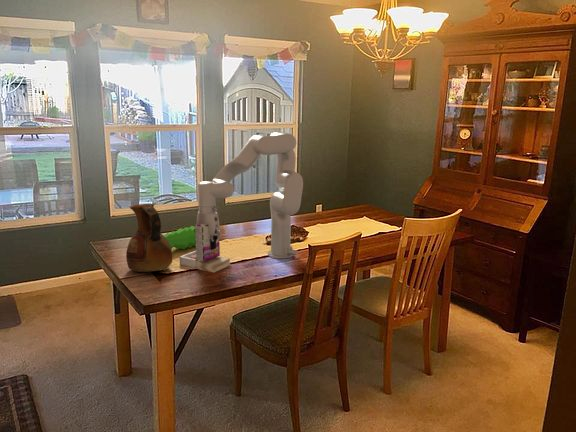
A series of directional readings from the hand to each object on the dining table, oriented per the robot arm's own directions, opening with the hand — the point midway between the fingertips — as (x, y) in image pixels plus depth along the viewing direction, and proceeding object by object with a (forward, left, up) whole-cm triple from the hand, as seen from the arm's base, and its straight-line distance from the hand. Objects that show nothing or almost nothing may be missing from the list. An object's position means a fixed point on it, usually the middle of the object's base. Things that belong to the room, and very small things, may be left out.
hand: (207, 247), depth 232 cm
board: (-3, 0, -9) cm, 9 cm away
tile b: (+4, +3, -6) cm, 8 cm away
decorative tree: (+28, -14, -9) cm, 33 cm away
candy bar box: (0, 0, -5) cm, 5 cm away
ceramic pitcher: (+18, +18, -9) cm, 27 cm away
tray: (+7, 0, -9) cm, 11 cm away
